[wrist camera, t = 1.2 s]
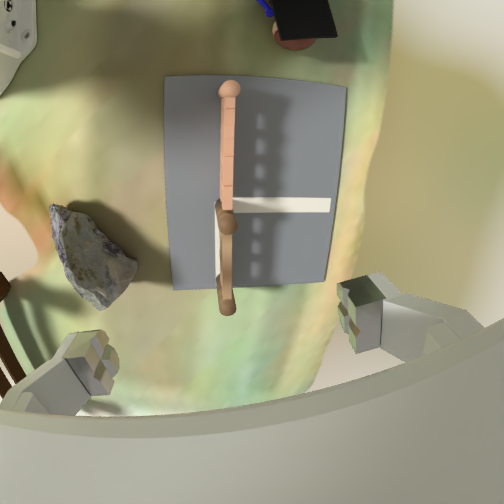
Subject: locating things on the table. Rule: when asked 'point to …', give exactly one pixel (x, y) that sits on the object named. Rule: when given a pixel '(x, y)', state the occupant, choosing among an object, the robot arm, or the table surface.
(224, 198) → the hinged fence panel
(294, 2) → the figurine character
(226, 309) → the fixed fence section
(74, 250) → the mineral rock
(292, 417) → the robot arm
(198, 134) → the card
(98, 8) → the table surface
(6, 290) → the decorative fence
